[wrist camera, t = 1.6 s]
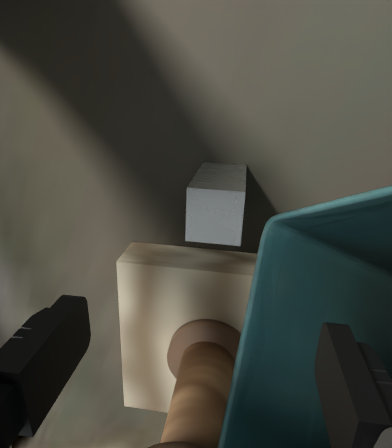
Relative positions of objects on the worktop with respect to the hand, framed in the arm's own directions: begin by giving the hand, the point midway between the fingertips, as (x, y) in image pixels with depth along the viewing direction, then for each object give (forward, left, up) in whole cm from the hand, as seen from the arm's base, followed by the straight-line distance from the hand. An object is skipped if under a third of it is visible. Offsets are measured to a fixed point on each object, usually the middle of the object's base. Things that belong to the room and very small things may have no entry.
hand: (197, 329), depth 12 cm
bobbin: (0, -14, -14) cm, 20 cm away
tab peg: (0, 0, -18) cm, 18 cm away
